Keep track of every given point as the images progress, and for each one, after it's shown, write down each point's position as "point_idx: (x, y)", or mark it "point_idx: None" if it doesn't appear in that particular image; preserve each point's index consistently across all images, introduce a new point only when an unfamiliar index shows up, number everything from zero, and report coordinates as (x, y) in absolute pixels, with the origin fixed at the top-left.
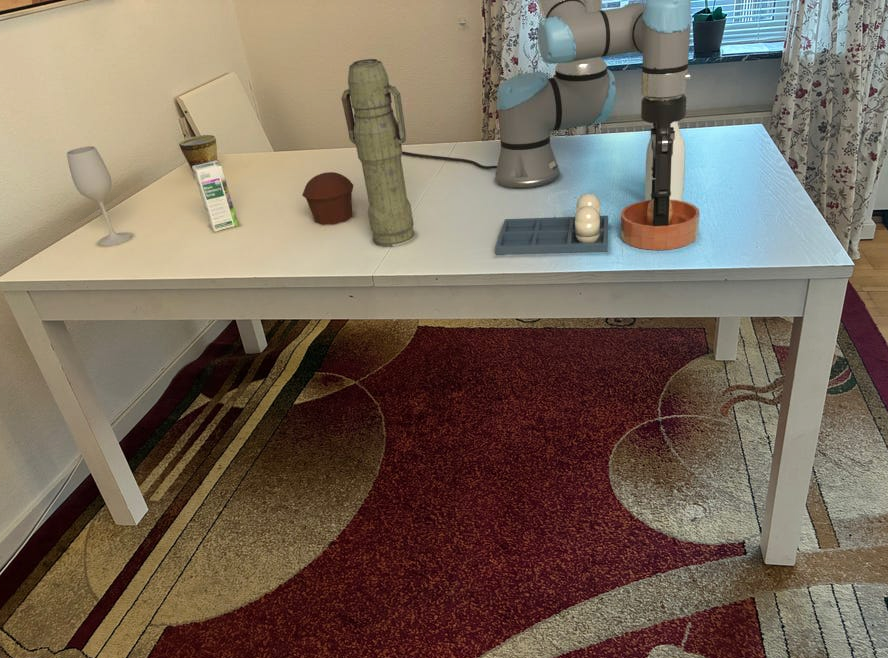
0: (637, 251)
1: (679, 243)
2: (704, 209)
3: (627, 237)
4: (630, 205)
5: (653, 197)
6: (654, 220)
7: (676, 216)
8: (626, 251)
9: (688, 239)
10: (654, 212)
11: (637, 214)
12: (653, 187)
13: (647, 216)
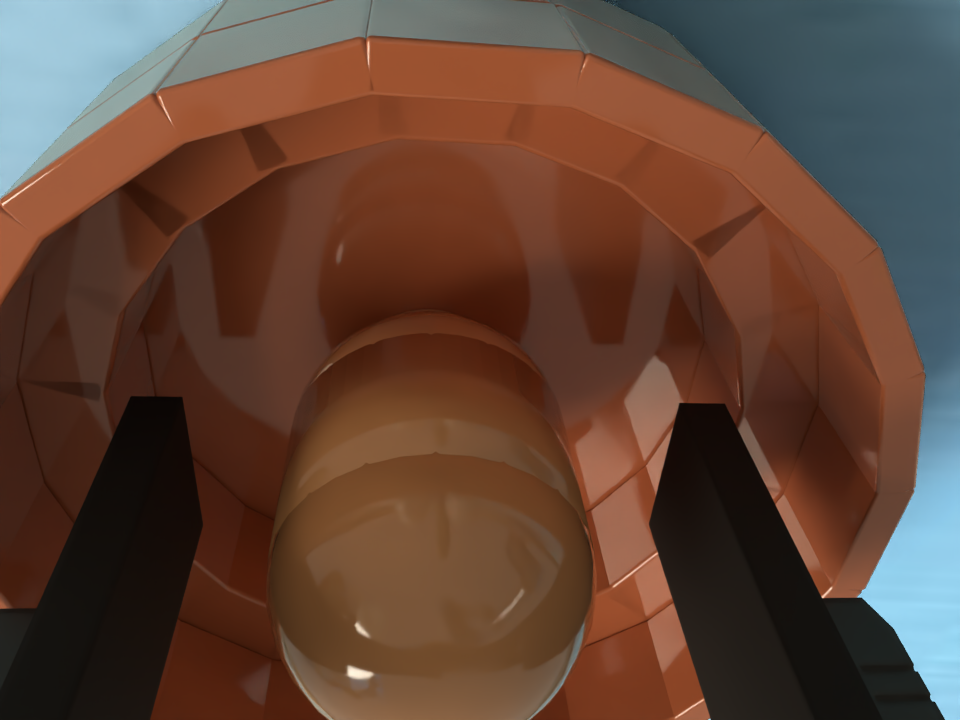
0: (55, 132)
1: None
2: (912, 648)
3: (156, 57)
4: (808, 223)
5: (739, 571)
6: (95, 494)
7: (625, 566)
8: (35, 2)
9: None
10: (54, 583)
11: (784, 244)
12: (791, 707)
13: (397, 399)
